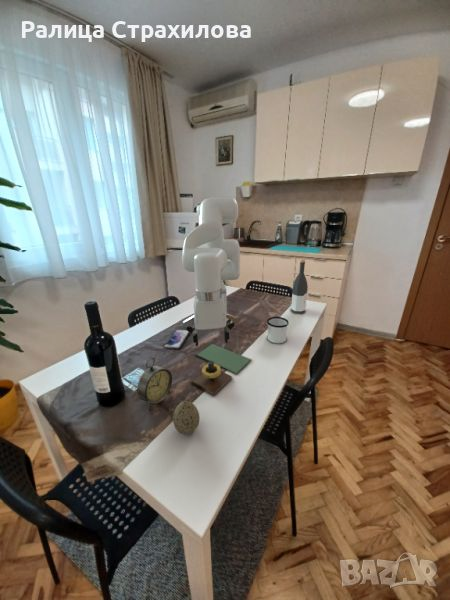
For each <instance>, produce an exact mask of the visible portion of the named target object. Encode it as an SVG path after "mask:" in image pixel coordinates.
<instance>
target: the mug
mask: <svg viewBox="0 0 450 600" xmlns="http://www.w3.org/2000/svg"><path fill="white" fill-rule="evenodd" d="M266 323H267V340H268V341H269V342H271V343H273V344H283V343H285V342H287V341H286V340H287V331H288V326H289V324H290V323H289V319H287V318H285V317H282V316H272V317H271V316H270V317H269V318H267V320H266Z"/></svg>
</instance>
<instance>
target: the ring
mask: <svg viewBox="0 0 450 600" xmlns="http://www.w3.org/2000/svg"><path fill="white" fill-rule="evenodd" d="M221 368H222V367H220V366H219V365H217V364H214V369H216V370H217V371H216V372H215V373H208V372H206V370H208V363H207V364H205V365H204V366H202V368H201V373H202V374H203V376H205V377H206V378H216V377H218V376H219V375H220V374H221V371H222V369H221Z"/></svg>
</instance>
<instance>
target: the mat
mask: <svg viewBox="0 0 450 600" xmlns="http://www.w3.org/2000/svg"><path fill="white" fill-rule="evenodd" d="M196 357H199V358H201V359H203V360H205V361H207V362H209V361H213V362H214V364H217V365H219V366H220V368H223V369H224V370H227V371H229V372H231V373H233V374H235V375H237V374H238V373H240V372H241V371H242V370H243V369H244V368H245V367H246V366H247V365H248V363H250V362H251V358H248V357H245V356H243V355H241V354H238V353H236V352H234V351H232V350H228V349H226V348H223V347H222V346H219V345H216V344H214V343H211V344H209V345H208V346H207V347H205V348H204V349H202V350H201V351H200V352H198V353H197V354H196Z"/></svg>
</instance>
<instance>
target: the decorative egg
mask: <svg viewBox="0 0 450 600" xmlns="http://www.w3.org/2000/svg"><path fill="white" fill-rule="evenodd" d="M172 423H173V427H174V428H175V430H176V431H177V432H178V433H179V434H182V435H190V434H192V433H193V432H195V431H196V430H197V428H198V426H199V423H200V413H199V410H198V408H197V406H196V405H195V404H194V403H193V402H191V401H189V400H183V401H181V402H180V403H178V405H177V406H176V407H175V409H174V411H173V415H172Z"/></svg>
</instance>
